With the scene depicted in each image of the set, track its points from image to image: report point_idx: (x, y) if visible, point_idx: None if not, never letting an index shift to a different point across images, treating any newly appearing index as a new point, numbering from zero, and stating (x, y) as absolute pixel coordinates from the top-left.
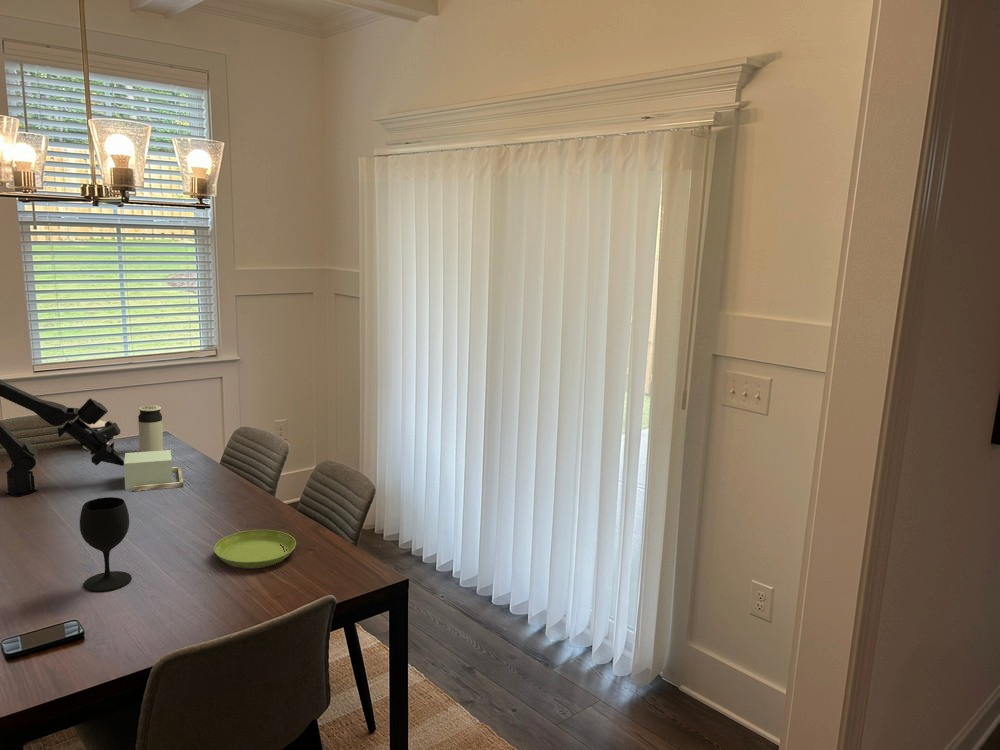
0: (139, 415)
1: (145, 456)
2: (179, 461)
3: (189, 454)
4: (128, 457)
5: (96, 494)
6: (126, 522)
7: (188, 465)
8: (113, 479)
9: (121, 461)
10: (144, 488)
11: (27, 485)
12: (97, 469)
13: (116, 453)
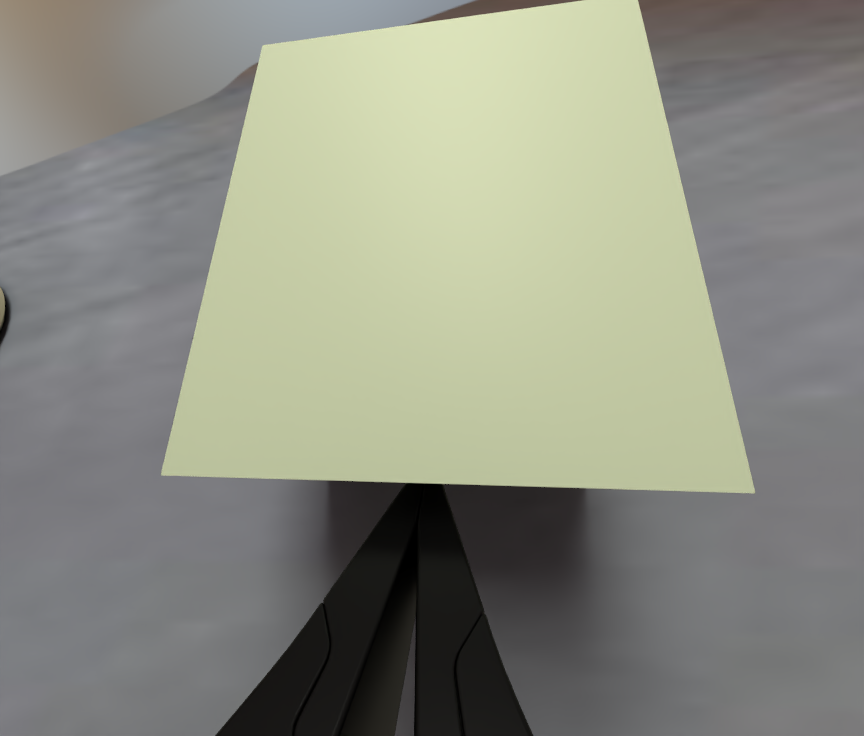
0: None
1: (419, 226)
2: (153, 202)
3: (71, 170)
4: (399, 426)
5: (672, 703)
6: None
7: None
8: (326, 554)
9: (453, 526)
10: None
11: None
12: (47, 673)
13: (357, 673)
